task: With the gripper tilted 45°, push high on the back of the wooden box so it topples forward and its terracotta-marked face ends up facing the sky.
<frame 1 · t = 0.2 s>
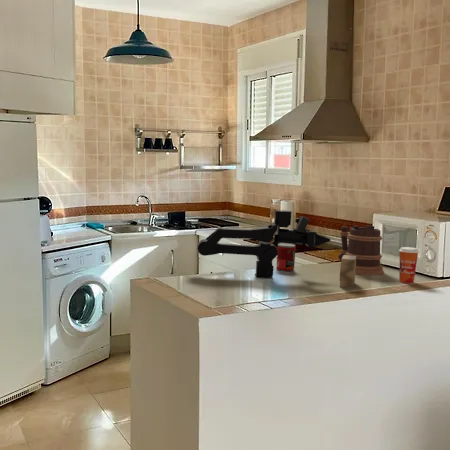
hand: (327, 238, 238), 16 cm above the counter, tool horizontal, fingers open, 9 cm apart
canned food: (285, 269, 257), on the counter
mug: (358, 270, 263), on the counter
wooden box: (347, 285, 229), on the counter
paper cup: (406, 282, 240), on the counter
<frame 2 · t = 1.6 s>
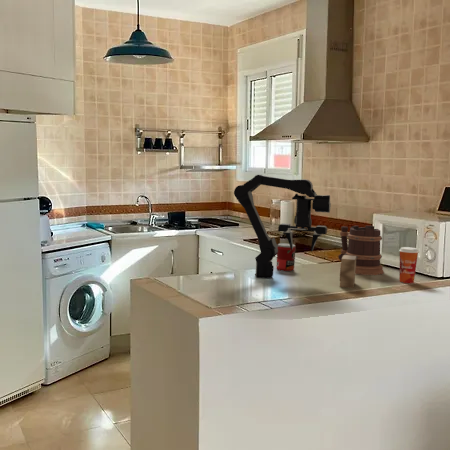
hand: (301, 250, 233), 12 cm above the counter, tool pointing down, fingers open, 8 cm apart
nothing on the counter moved.
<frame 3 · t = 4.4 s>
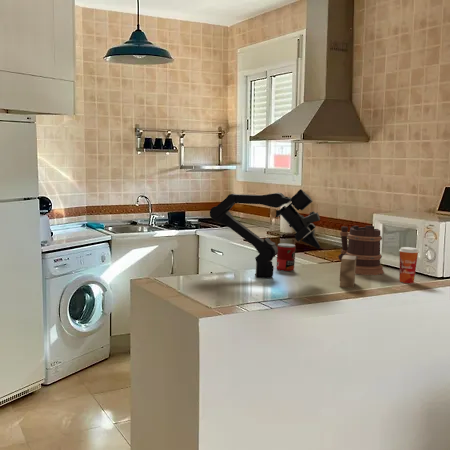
hand: (319, 248, 231), 14 cm above the counter, tool tilted 45°, fingers closed
nothing on the counter moved.
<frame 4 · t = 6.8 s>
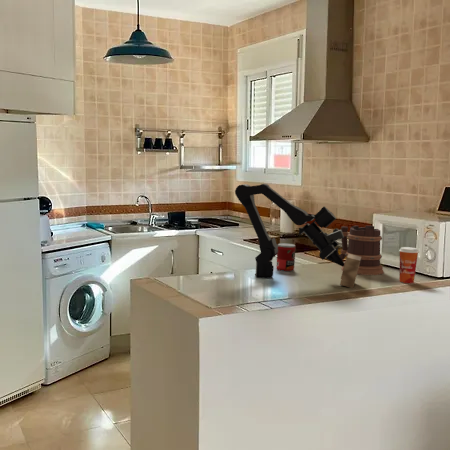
hand: (343, 265, 228), 7 cm above the counter, tool tilted 45°, fingers closed
wooden box: (347, 284, 229), on the counter, tilted 10°
everything else where it was.
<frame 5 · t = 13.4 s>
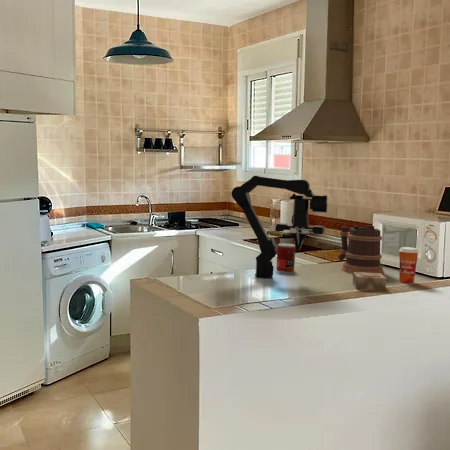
hand: (298, 250, 234), 12 cm above the counter, tool pointing down, fingers closed
wooden box: (354, 280, 227), point 2 cm above the counter, tilted 90°
everything else where it was.
at the end: wooden box tilted 90°; wooden box inside the target area (1.9 cm from its centre), point 2.2 cm above the counter; the gripper is holding nothing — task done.
